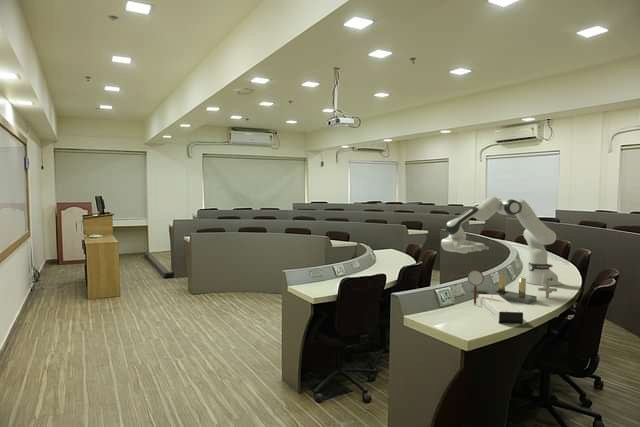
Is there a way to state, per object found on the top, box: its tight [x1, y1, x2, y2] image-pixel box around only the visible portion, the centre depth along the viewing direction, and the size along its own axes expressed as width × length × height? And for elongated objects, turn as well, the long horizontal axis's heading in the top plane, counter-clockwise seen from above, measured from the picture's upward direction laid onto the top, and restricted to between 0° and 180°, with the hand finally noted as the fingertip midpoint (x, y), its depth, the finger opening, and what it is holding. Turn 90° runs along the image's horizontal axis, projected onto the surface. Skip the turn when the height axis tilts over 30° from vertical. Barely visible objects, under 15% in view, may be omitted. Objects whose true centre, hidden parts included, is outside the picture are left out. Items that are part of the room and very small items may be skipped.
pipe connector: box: [537, 281, 558, 299], centre depth 248 cm, size 10×10×10 cm
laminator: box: [477, 293, 524, 325], centre depth 216 cm, size 34×12×6 cm, turn 175°
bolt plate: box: [487, 277, 538, 305], centre depth 246 cm, size 24×12×13 cm, turn 42°
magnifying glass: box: [467, 269, 485, 306], centre depth 230 cm, size 9×2×20 cm, turn 57°
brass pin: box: [498, 274, 506, 294], centre depth 251 cm, size 4×4×13 cm
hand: (484, 248), depth 259 cm, fingers open, 8 cm apart
